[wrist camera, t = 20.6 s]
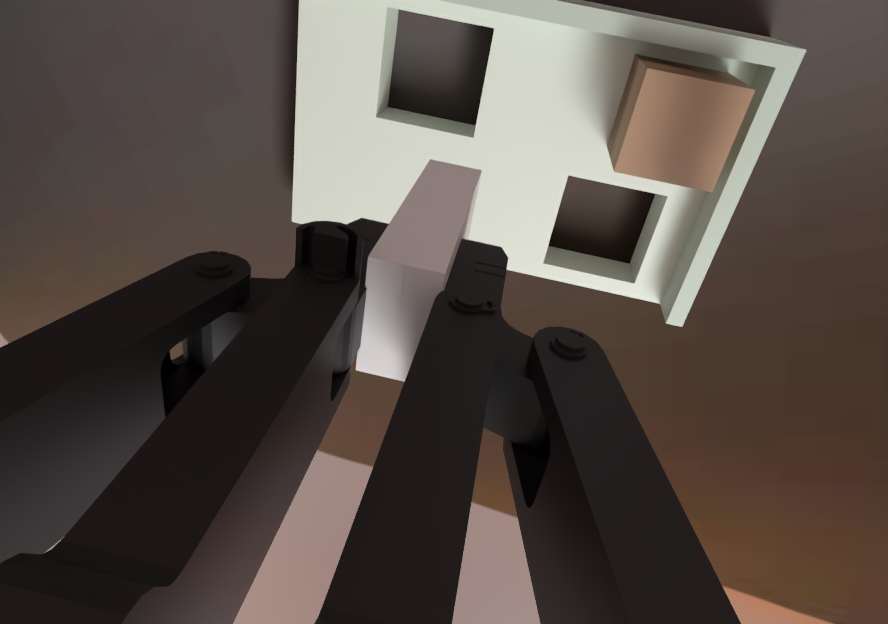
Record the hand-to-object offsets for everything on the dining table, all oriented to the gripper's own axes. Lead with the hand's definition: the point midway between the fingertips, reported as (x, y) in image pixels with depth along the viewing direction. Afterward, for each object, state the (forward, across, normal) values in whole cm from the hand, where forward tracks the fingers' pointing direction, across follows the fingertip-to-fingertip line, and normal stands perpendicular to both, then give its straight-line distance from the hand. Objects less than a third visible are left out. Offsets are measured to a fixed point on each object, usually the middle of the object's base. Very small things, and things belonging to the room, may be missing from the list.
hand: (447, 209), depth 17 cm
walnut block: (+19, +9, +1) cm, 21 cm away
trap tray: (+22, +1, -4) cm, 23 cm away
